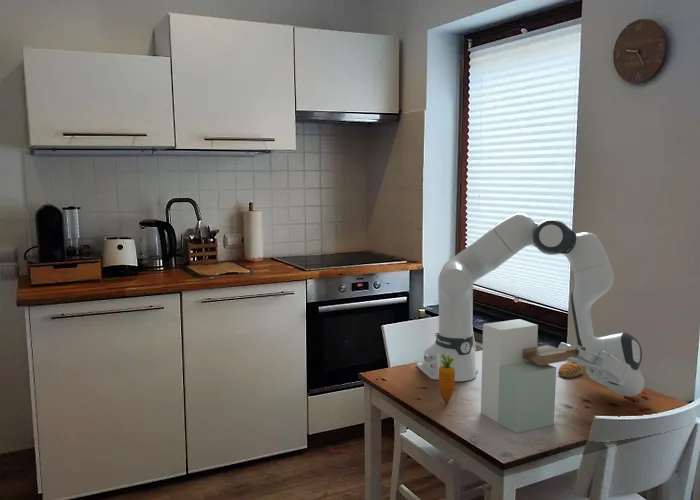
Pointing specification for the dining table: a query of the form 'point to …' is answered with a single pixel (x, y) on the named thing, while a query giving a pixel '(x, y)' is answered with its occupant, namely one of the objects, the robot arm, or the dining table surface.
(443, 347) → the robot arm
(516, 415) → the white two-tone stepped block
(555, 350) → the brown block
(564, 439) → the dining table surface
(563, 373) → the pastry
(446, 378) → the carrot
